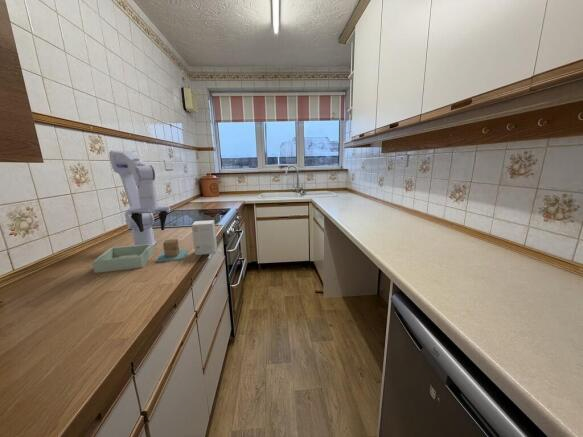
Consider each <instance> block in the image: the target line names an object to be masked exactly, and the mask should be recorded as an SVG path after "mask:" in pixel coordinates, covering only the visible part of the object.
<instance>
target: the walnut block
mask: <svg viewBox="0 0 583 437" xmlns="http://www.w3.org/2000/svg"><path fill="white" fill-rule="evenodd" d="M162 246H163V252H164V254H165V258H168V257H177V256H178V254H179V250H180V248H179V247H180V246H179V239H178V238H173V239H165V240H164V241H163V243H162Z"/></svg>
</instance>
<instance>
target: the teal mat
mask: <svg viewBox="0 0 583 437" xmlns="http://www.w3.org/2000/svg"><path fill="white" fill-rule="evenodd" d="M187 254H188V249H182V250H180V249H179V254H178V256H177V257H168V258H165V254H164V251H161V253H160V254H159V256H158V257H157V259H155V263H163V262H170V261H171V262H172V261H180V260H185V258H186V256H187Z"/></svg>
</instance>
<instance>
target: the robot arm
mask: <svg viewBox="0 0 583 437" xmlns="http://www.w3.org/2000/svg"><path fill="white" fill-rule="evenodd" d="M108 155H109V161H110V164H111V167H112V169H113V172H114V173H116V174H118V175H119V178H120V180H121V183H122V185H123V188H124V191H125V195H126V197H127V202H128V205H129V208H128V209H127V210H126V211H125V213H124V217H125V223H126V226H127V228H129V230H131V231H132V232H131V233H132V237H133V238H132V239H133V245H134V246H135V245H145V244H153V247H154V246H155V244H157V242H158V241H157V240H155V234H154V229H153V225H154V223H155V217H154V214H155V213H158V214H157V215H158V219H159V221H160V229H161V230H160V231H164V230H165V229H166V228H165V225H166V219H167V217H168V214H169V213H170V212H171V207H170V206H158V203H157V197H156V190H155V182H154V181H155V179H156V173H155V168H154V167H153V165H149V164H148V165H146V163H144V161H142V160H141V159H140V158H139V154H138V153H137V152H136V150H113V149H112V150H109V154H108ZM153 213H154V214H153Z"/></svg>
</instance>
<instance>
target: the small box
mask: <svg viewBox="0 0 583 437" xmlns="http://www.w3.org/2000/svg"><path fill="white" fill-rule="evenodd" d="M191 230H192V232H191V233H192V239H193V248H194V255H195V256H200V255H201V256H202V255H214V254H216V251H217V249H218V244H217V234H216V232H217V231H216V224H215V220H214V219H212V220H211V219H210V220H195V221H194V222H193V223H192V224H191Z"/></svg>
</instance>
